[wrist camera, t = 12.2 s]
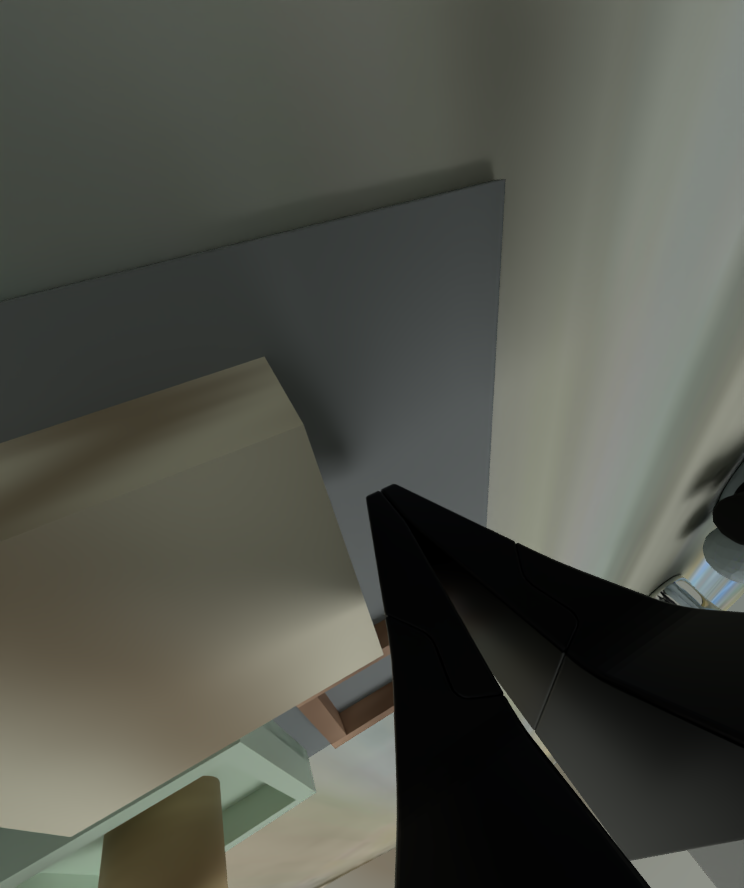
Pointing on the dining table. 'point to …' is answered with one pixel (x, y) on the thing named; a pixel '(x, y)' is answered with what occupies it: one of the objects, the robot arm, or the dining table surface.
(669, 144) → the dining table surface
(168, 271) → the mat
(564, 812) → the robot arm
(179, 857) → the dowel
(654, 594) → the beer glass
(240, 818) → the tray
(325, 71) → the dining table surface
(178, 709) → the beige slab
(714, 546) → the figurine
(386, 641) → the socket
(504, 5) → the dining table surface
